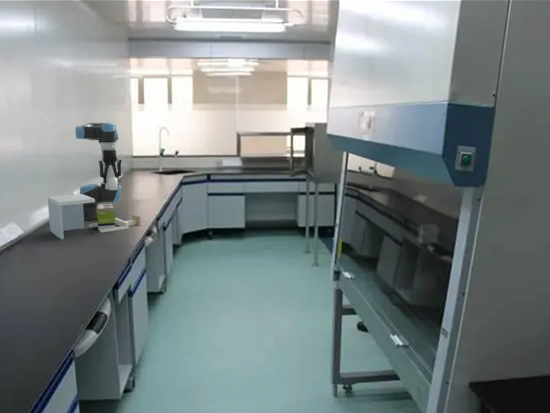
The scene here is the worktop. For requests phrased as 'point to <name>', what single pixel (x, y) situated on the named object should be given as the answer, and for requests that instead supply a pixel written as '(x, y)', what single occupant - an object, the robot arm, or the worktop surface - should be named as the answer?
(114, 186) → the white rounded capsule
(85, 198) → the panel
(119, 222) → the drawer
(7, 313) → the worktop surface
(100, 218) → the tea box
